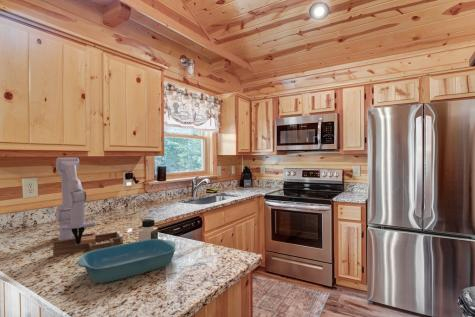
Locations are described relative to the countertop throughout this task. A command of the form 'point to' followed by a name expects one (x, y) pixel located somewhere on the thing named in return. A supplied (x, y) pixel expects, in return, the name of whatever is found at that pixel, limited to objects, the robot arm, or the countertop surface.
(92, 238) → the block
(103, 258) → the casserole dish
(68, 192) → the robot arm
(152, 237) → the medicine bottle
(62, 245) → the trap lane
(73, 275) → the countertop surface
